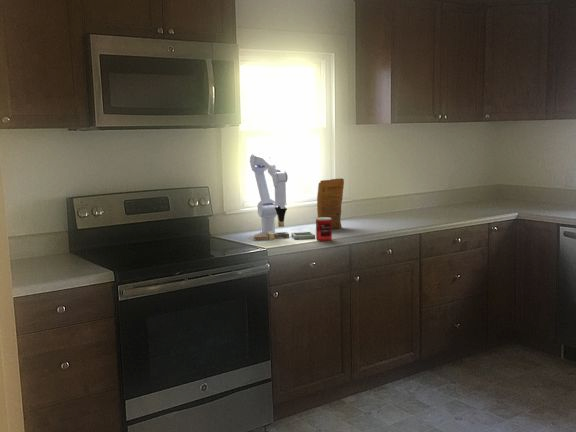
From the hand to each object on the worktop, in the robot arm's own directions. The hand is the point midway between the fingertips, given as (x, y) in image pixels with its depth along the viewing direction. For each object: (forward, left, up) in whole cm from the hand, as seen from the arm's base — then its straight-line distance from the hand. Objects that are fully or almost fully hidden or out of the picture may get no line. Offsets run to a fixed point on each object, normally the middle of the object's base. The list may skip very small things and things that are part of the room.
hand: (281, 221), depth 336 cm
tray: (+5, +11, -8) cm, 14 cm away
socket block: (0, 0, -8) cm, 8 cm away
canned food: (+17, +19, -9) cm, 27 cm away
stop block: (+3, -6, -8) cm, 11 cm away
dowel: (0, 0, -3) cm, 3 cm away
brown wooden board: (+3, -11, -9) cm, 15 cm away
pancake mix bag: (-21, +31, -9) cm, 38 cm away
